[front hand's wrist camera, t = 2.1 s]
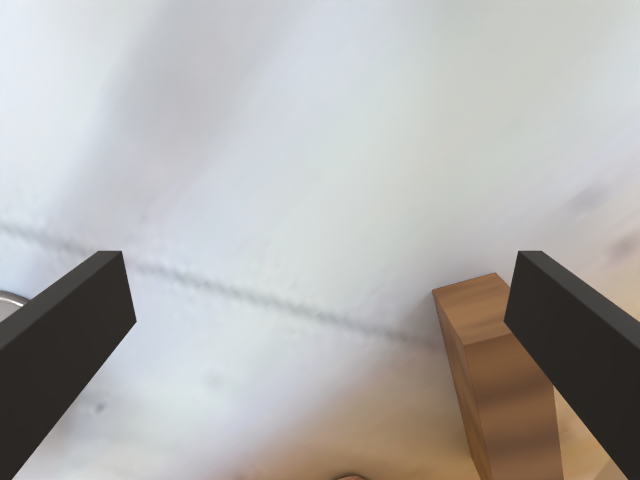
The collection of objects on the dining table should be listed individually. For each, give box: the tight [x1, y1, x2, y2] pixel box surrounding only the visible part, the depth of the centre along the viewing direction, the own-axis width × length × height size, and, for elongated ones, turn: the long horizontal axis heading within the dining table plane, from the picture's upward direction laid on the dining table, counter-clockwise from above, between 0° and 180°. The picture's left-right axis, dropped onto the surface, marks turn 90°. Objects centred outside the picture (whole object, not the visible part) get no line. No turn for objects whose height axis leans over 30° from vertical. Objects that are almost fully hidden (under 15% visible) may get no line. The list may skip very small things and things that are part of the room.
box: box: [432, 273, 564, 480], centre depth 36 cm, size 24×6×8 cm, turn 18°
